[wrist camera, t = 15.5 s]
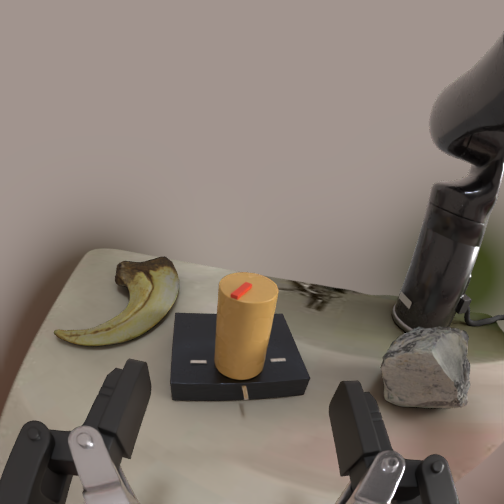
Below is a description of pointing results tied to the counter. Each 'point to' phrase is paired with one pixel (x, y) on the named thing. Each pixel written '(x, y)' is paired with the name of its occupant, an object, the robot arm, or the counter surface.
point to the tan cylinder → (244, 324)
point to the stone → (427, 369)
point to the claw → (134, 303)
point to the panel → (218, 385)
